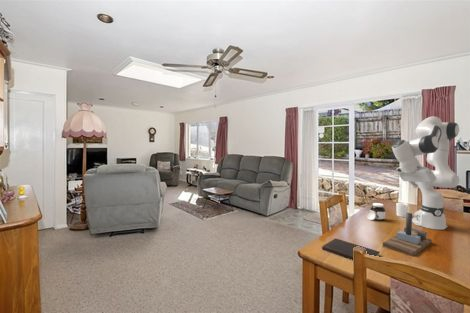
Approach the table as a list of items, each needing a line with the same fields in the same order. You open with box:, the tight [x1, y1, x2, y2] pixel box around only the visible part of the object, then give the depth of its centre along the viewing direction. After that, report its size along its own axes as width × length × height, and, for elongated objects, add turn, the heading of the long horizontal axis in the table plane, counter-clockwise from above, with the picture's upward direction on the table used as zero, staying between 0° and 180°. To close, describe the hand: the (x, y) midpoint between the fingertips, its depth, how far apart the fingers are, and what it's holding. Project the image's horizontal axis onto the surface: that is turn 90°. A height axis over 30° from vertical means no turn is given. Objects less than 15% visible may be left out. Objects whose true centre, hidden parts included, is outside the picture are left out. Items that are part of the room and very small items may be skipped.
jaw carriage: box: [396, 212, 421, 244], centre depth 130 cm, size 4×10×16 cm, turn 35°
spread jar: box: [365, 202, 387, 222], centre depth 174 cm, size 12×11×12 cm
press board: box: [382, 227, 432, 257], centre depth 130 cm, size 28×14×6 cm, turn 125°
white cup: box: [395, 201, 409, 218], centre depth 183 cm, size 8×8×10 cm
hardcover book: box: [321, 238, 381, 261], centre depth 121 cm, size 16×23×2 cm
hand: (423, 187), depth 134 cm, fingers open, 8 cm apart
